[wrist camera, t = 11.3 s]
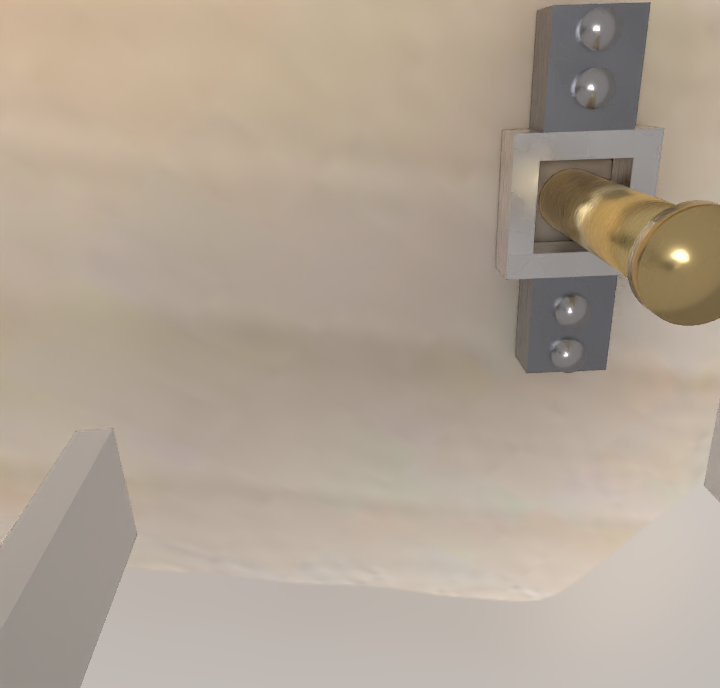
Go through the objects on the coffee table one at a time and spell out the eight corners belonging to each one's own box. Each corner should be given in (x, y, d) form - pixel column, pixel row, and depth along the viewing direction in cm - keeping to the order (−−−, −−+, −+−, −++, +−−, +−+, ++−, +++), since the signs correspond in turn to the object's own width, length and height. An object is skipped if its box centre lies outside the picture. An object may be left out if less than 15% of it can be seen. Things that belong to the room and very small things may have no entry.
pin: (527, 240, 35) (632, 328, 23) (532, 160, 34) (648, 208, 21) (603, 236, 35) (749, 322, 23) (612, 157, 34) (774, 203, 21)
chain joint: (613, 351, 38) (634, 371, 36) (491, 357, 38) (502, 377, 35) (656, 6, 31) (686, 0, 29) (508, 11, 31) (523, 5, 29)
